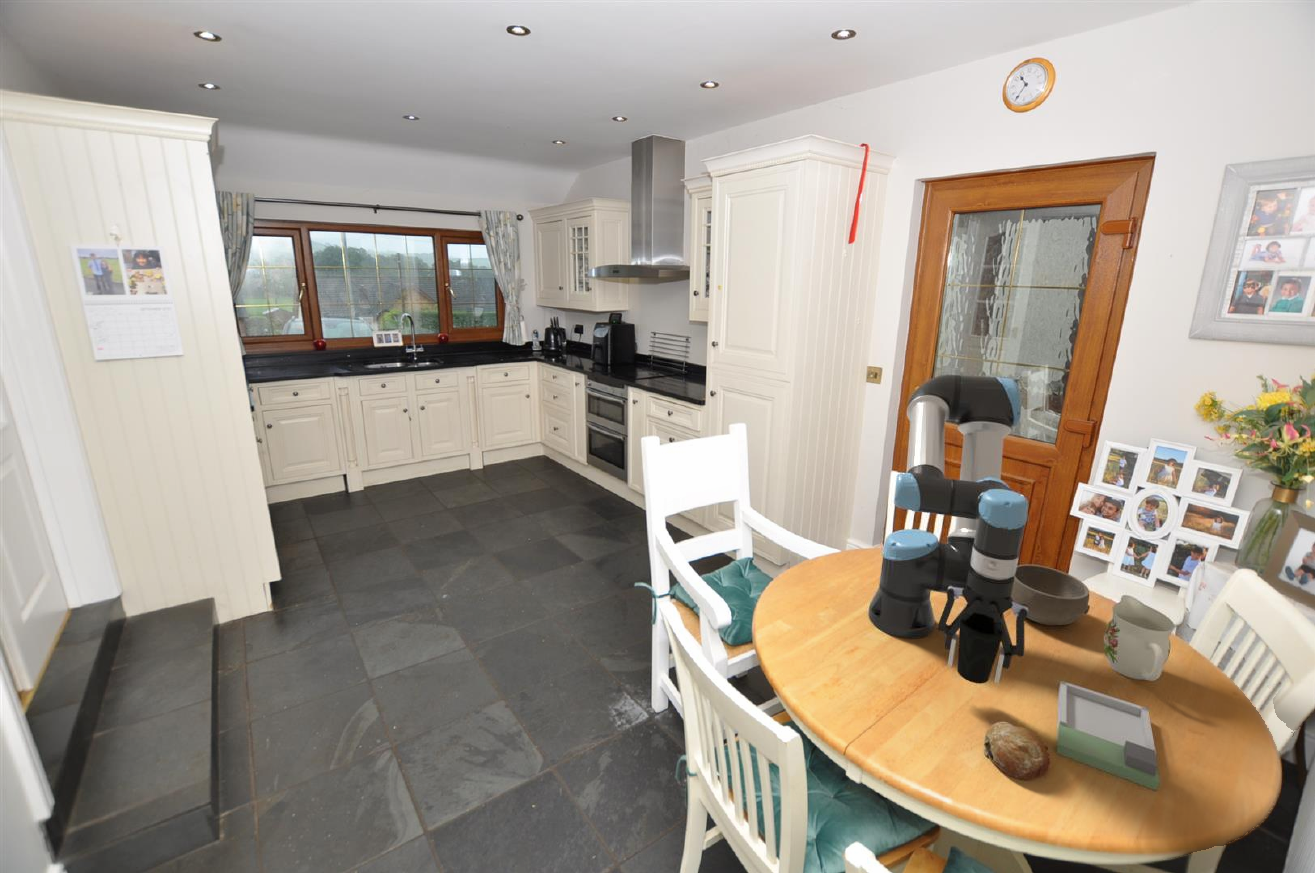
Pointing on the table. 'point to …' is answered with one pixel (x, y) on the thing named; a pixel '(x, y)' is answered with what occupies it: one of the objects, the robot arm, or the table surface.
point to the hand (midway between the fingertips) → (973, 670)
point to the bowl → (1050, 595)
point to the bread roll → (1016, 751)
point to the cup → (977, 647)
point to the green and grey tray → (1106, 734)
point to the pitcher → (1137, 639)
